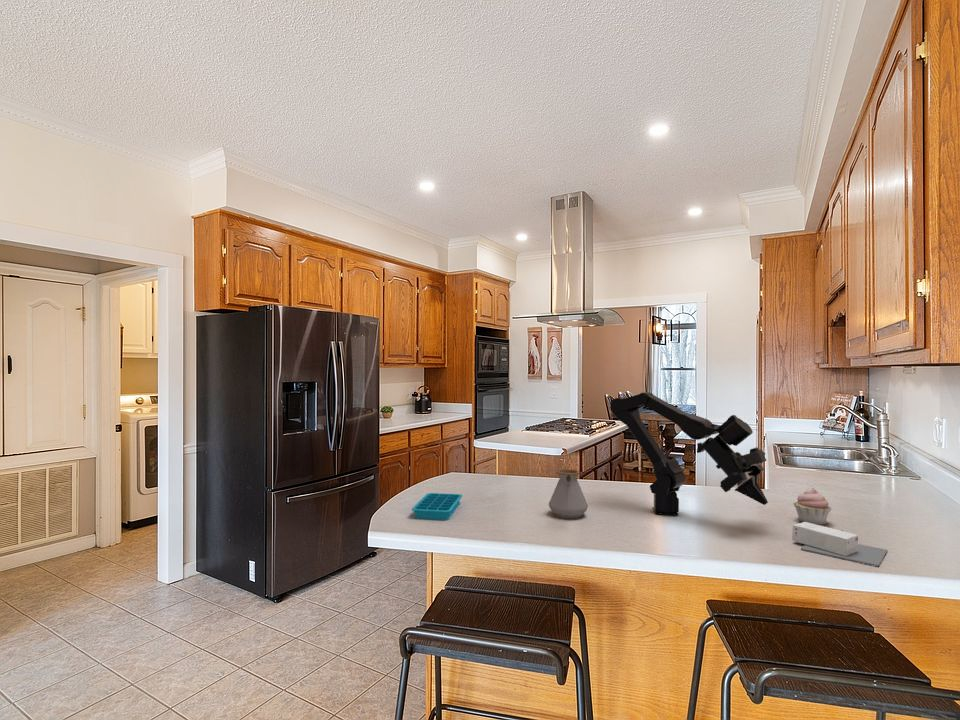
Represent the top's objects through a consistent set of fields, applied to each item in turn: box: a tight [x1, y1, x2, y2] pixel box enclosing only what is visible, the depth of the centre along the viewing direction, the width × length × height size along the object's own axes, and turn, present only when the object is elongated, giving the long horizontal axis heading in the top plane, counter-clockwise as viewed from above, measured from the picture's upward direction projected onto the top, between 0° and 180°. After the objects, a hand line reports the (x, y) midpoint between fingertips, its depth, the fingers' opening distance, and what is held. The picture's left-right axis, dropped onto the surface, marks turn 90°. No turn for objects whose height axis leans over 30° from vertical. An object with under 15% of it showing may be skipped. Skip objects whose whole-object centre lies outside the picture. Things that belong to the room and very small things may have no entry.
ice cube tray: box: [411, 492, 463, 521], centre depth 157 cm, size 12×20×3 cm, turn 171°
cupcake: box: [792, 487, 833, 526], centre depth 148 cm, size 9×9×10 cm
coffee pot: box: [548, 469, 589, 519], centre depth 149 cm, size 21×12×15 cm, turn 170°
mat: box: [800, 543, 888, 567], centre depth 125 cm, size 15×14×1 cm
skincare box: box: [791, 522, 859, 556], centre depth 126 cm, size 6×4×12 cm
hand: (766, 503), depth 137 cm, fingers closed
